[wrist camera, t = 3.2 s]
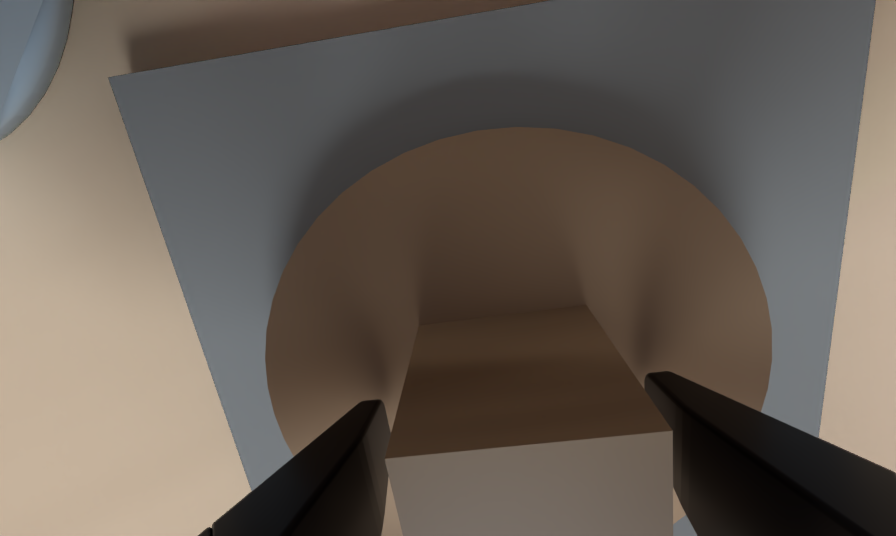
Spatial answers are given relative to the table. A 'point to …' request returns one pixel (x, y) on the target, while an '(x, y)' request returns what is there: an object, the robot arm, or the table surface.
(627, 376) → the lid
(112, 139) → the table surface
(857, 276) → the table surface
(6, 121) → the bowl
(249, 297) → the mat
